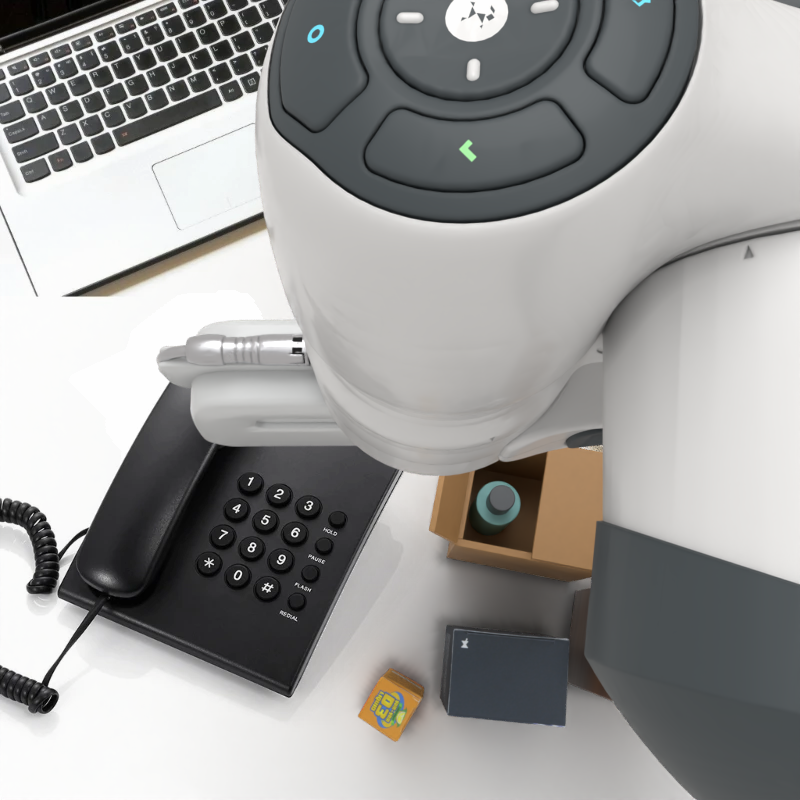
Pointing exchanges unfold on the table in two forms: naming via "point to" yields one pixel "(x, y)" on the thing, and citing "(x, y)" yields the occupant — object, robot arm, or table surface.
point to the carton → (540, 515)
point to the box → (505, 676)
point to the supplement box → (392, 704)
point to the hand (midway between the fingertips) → (427, 432)
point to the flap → (449, 506)
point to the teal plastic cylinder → (494, 508)
